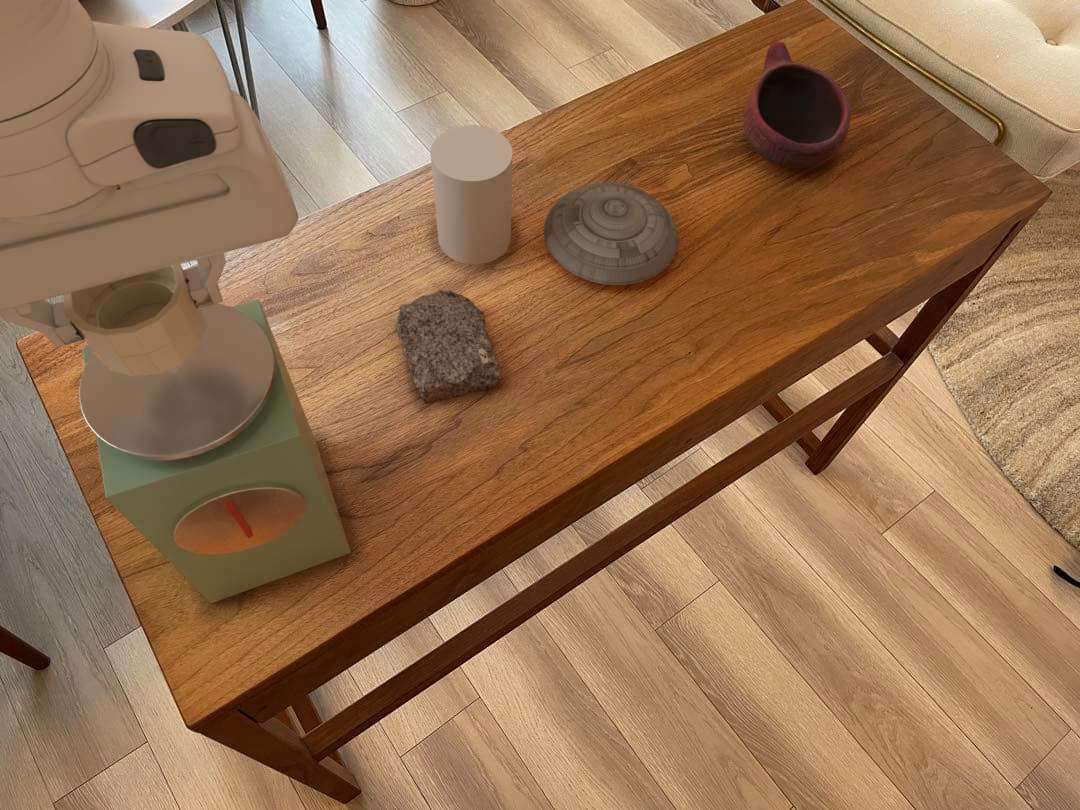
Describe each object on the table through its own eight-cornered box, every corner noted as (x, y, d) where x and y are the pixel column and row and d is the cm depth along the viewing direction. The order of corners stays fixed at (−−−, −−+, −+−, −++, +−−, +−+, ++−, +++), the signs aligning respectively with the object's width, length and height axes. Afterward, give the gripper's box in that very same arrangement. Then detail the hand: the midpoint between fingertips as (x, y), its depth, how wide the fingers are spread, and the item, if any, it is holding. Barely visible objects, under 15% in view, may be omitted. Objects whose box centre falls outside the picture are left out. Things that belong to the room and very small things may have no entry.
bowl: (857, 157, 99) (884, 103, 92) (787, 200, 95) (809, 146, 88) (764, 89, 105) (783, 33, 99) (694, 125, 101) (708, 69, 94)
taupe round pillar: (522, 225, 91) (526, 140, 80) (490, 274, 87) (489, 191, 76) (459, 201, 92) (454, 115, 82) (424, 248, 88) (415, 164, 78)
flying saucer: (673, 301, 86) (683, 267, 81) (535, 284, 86) (537, 249, 81) (677, 202, 94) (687, 166, 89) (551, 187, 94) (554, 150, 89)
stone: (503, 389, 79) (503, 368, 76) (415, 409, 78) (411, 389, 74) (474, 298, 84) (473, 275, 81) (392, 315, 83) (388, 293, 80)
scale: (212, 612, 66) (92, 494, 47) (184, 483, 72) (68, 330, 52) (353, 560, 69) (296, 429, 49) (315, 440, 75) (251, 281, 55)
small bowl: (106, 395, 46) (70, 349, 42) (92, 312, 49) (57, 262, 45) (218, 362, 47) (193, 315, 43) (197, 284, 50) (172, 233, 46)
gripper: (-269, 230, 30) (-54, 415, 42) (269, 110, 35) (327, 306, 47) (-256, 125, 33) (-58, 326, 45) (239, 28, 38) (300, 232, 50)
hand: (141, 315), depth 46 cm, fingers closed on small bowl, 6 cm apart
